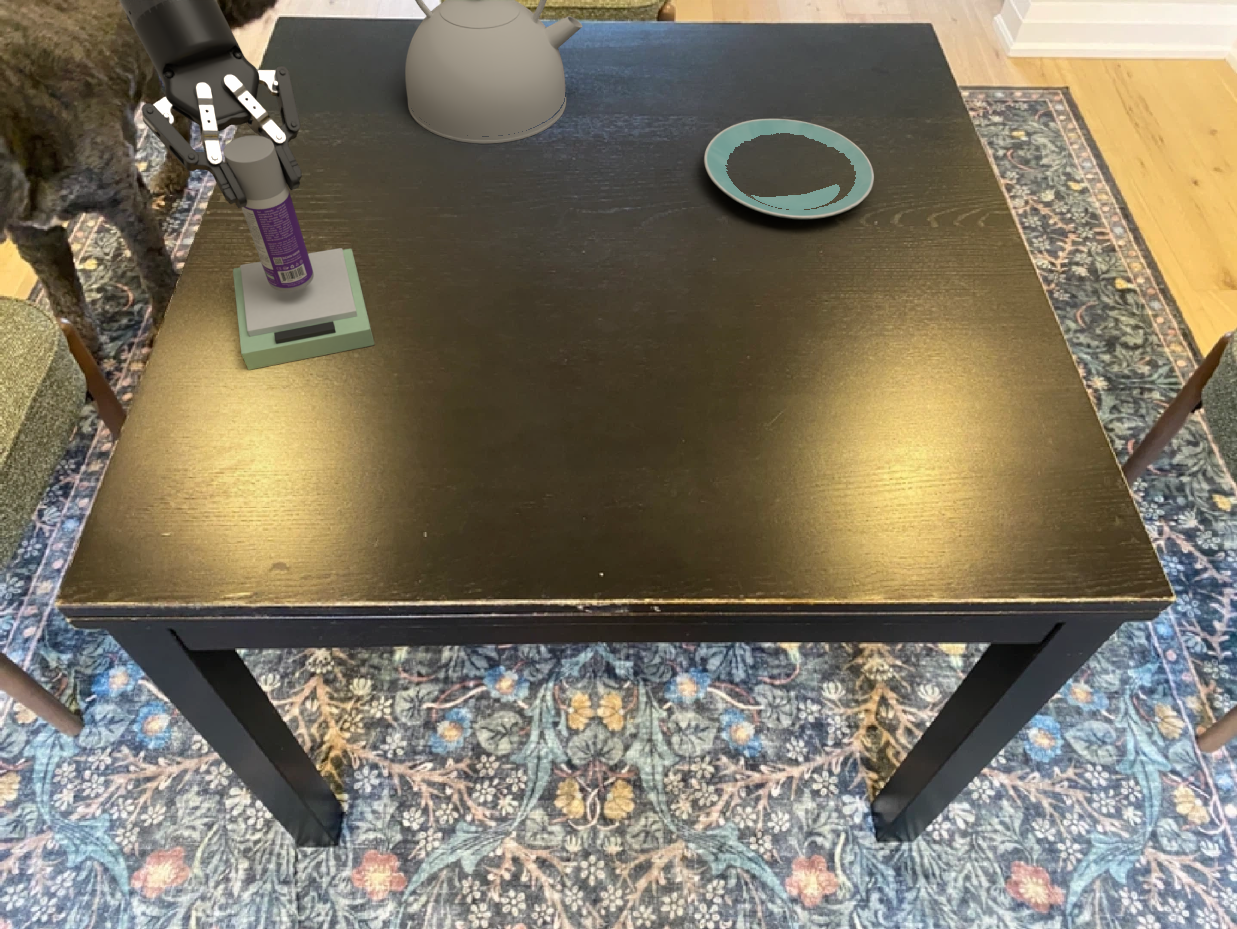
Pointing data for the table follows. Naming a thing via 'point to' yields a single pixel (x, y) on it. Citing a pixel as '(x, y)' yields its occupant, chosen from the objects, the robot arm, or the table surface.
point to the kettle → (486, 70)
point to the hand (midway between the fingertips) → (269, 195)
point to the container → (270, 212)
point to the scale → (301, 312)
